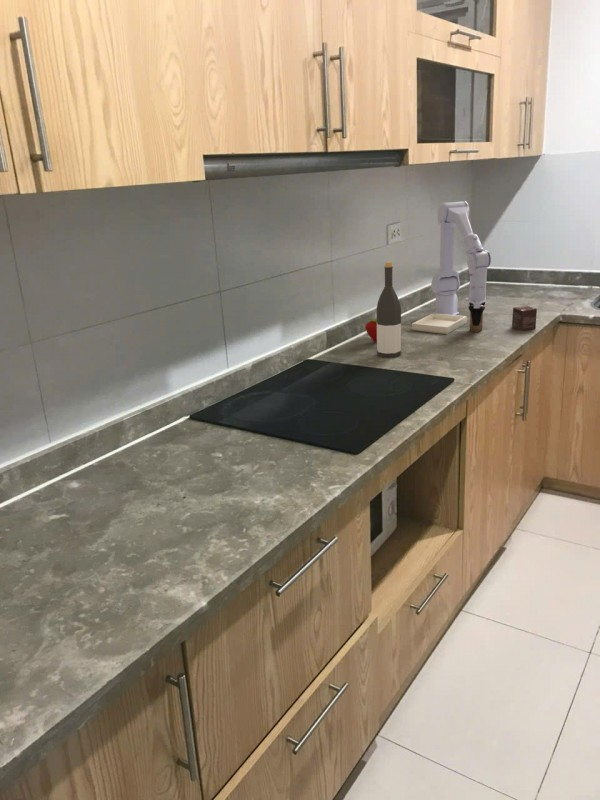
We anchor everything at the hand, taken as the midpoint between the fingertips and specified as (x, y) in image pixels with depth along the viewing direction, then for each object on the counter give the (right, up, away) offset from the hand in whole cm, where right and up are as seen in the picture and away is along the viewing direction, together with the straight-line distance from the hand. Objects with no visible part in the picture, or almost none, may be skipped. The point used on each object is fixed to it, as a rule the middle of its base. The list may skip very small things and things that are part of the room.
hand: (476, 323), depth 232 cm
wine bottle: (-34, -13, -21) cm, 43 cm away
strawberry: (-37, -8, -7) cm, 38 cm away
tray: (-11, 0, +9) cm, 14 cm away
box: (+17, -2, +1) cm, 17 cm away
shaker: (0, -2, +1) cm, 2 cm away
